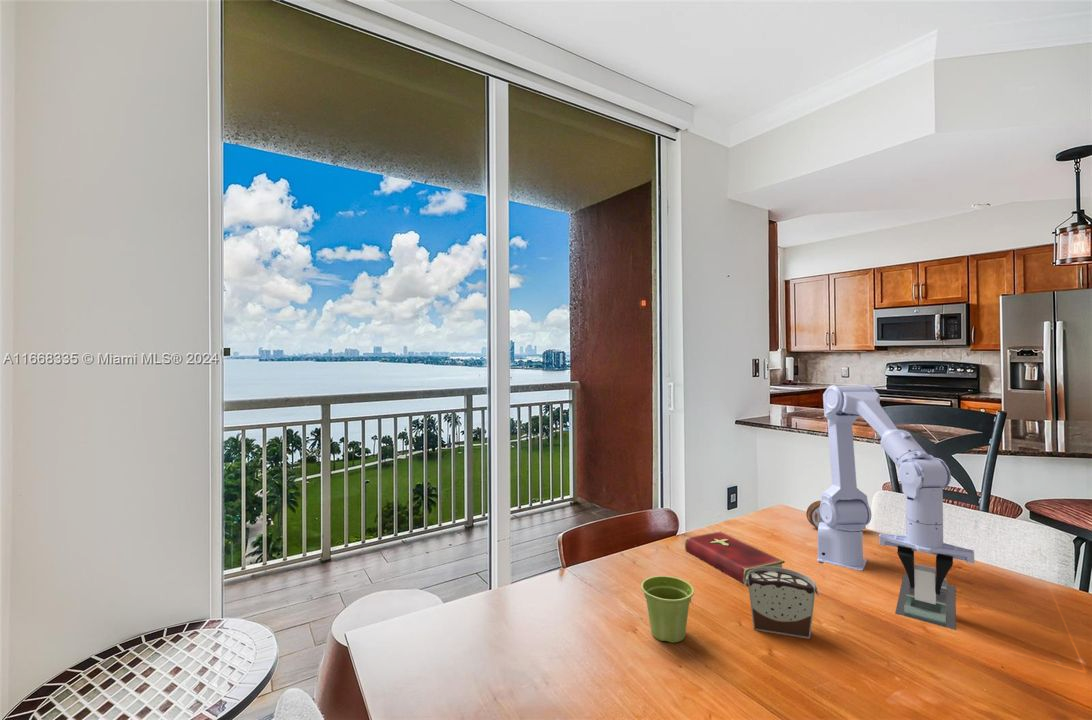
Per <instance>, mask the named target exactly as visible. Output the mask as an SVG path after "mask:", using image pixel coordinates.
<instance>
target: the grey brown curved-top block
mask: <svg viewBox="0 0 1092 720" xmlns="http://www.w3.org/2000/svg"><path fill="white" fill-rule="evenodd" d="M747 581H748V584H747V585H746V583H747ZM744 586H745V587H746V586H748V594H749V601H750V602H749V603H750V609H751V618H752V626H753V630H754V631H758V632H759V631H760V632H765V633H773V634H778V635H785V636H789V637H790V636H791V637H795V638H796V637H797V638H802V639H811V635H812V626H813V614H814V605H815V597H816V595H817V597H819V595H820V594H819V591H818V587H817V585H816V583H815V581H814V580H813V579H812V578H810V577H809V576H807V575H805V574H803V573H801V572H798V571H795V570H792V569H789V568H785V567H782V568H779V567H758V568H754V569H752V570H750V571H749V572H748V575H747V576H746V581H745V585H744Z"/></svg>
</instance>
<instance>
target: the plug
mask: <svg viewBox="0 0 1092 720" xmlns="http://www.w3.org/2000/svg"><path fill="white" fill-rule="evenodd" d="M914 583H915V587H914V588H915V600H919V601H923V602H927V603H931V604H935V605H936V592H935V586H936V567H934V566H929V565H924V564H919V563H914Z"/></svg>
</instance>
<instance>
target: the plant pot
mask: <svg viewBox="0 0 1092 720" xmlns="http://www.w3.org/2000/svg"><path fill="white" fill-rule="evenodd" d="M640 586H641V587H640V588H641V591H642V592H643V595H644V598H645V600H646V605H647V611H648V613H647V614H648V616H649V617H648V618H649V625H650V632H651V634H652V636H653V637H654V638H655V639H657V640H659V641H660V642H664V641H665V642H669V643H673V644H674V643H679V642H681V641H683V640H684V639H685V638H686V637H685V636H686V632H687V625H688V614H689V607H690V603H691V600H692V597H693V596H694V593H695V590H694V589H695V588H694V587H693V586H692V584H691V583H690V582H688V581H686V580H684V579H681V578H678V577H675V576H669V575H655V576H651V577H647V578H646V579H644V580H643V581H642V582H641V585H640Z"/></svg>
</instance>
